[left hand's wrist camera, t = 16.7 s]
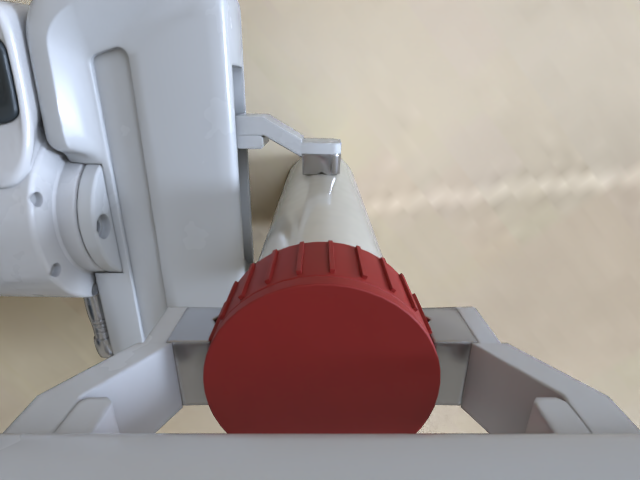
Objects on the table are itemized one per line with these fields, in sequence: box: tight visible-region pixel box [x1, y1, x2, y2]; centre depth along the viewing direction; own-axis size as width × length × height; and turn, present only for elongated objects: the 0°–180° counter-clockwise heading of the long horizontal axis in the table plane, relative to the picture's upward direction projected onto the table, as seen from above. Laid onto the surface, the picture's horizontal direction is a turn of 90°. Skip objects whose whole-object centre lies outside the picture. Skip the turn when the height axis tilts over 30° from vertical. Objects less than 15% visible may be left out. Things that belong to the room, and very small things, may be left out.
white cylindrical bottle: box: [258, 158, 383, 262], centre depth 17 cm, size 4×4×16 cm
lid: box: [203, 240, 440, 434], centre depth 9 cm, size 5×5×2 cm
